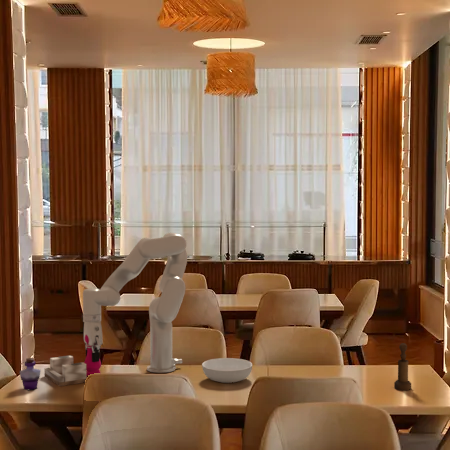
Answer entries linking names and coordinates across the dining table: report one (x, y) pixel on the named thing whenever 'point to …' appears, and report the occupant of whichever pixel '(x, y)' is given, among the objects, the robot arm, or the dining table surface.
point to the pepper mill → (91, 366)
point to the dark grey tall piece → (402, 371)
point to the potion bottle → (30, 375)
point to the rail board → (65, 371)
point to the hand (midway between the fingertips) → (92, 359)
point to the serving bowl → (227, 369)
